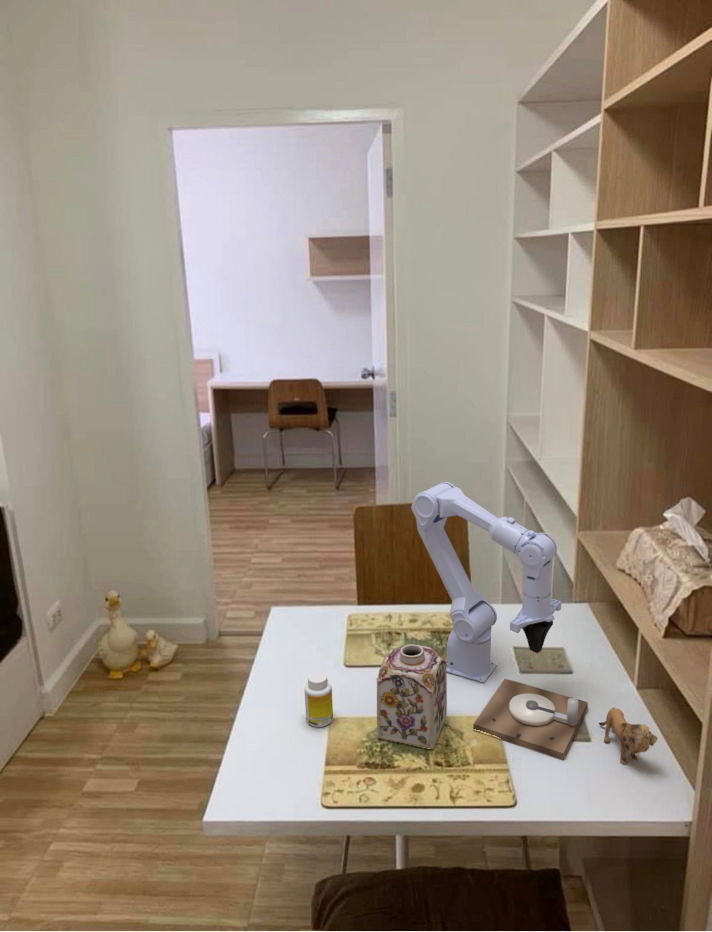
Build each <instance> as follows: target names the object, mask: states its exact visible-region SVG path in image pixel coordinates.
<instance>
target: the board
mask: <svg viewBox="0 0 712 932" xmlns="http://www.w3.org/2000/svg"><path fill="white" fill-rule="evenodd" d="M525 693H531V694H537V695H541V696H543V697H545V698H547V699H549V700H550V701H551V702H552V703H553V705H554V707H555V712H557V713H561V714H564V715H567V706H568V699H569V698H573V697H572V696H568V695H564V694H561V693H558V692H554V691H549V690H547V689H544V688H540V687H537V686H536V687H535V686H533V685H529V684H526V683H522V682H519V681H515V680H511V679H509V678H504V679H503V681H502V682H501V683H500V684H499V685H498V687H497V688H496V690H495V692H494V693H493V695H492V696H491V698H490V699H489V701H488V702H487V704H486V705H485V706H484V708H483V710H482V711H481V712H480V714H479V715H478V717H477V718H476V720H475V721H474V722H473V727H472V729H476V730H480V731H483V732H486V733H489V734H491V735H495V736H497V737H499V738H501V739H502V740H501V739H500V740H501V741H504V742H507V743H510V744H513V745H516V746H520V747H523V748H525V749H529V750H532V751H535V752H537V753H541V754H543V755H547V756H549V757H553V758H555V759H558V760H562V761H564V759H565V757H566V754H567V753H568V750H569V748H570V746H571V744H572V742H573V740H574V738H575V736H574V735H576V734H575V733H577V732H578V729H579V727H580V726H581V723H582V721H583V720H584V716H585V715H586V712H587V710H588V706H589V702H588V701H584V700H582V699H578V698H576V699H577V700H578V716H577V725H575V726H570V725H568V724H567V723H563V722H559V721H556V720H552V721H551V722H549V723H548V724H545V725H540V726H532V725H527V724H523V723H521V722H519V721H517V720H516V719H514V718H513V717H512V716H511V714H510V711H509V703H510V700H511V699H512V698H513V697H515V696H517V695H519V694H525ZM576 731H577V732H576Z"/></svg>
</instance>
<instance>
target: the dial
mask: <svg viewBox="0 0 712 932" xmlns="http://www.w3.org/2000/svg"><path fill="white" fill-rule="evenodd" d="M577 699H578V698H576V697H575V698H574V697H572V698H569V699H568V706H567V715H564V714H561V713H557V712H555V707H554V705H553V703H552V702H551V701H550V700H549V699H547V698H545V697H543V696H541V695H537V694H531V693H525V694H519V695H517V696H515V697H513V698H512V699H511V700H510V703H509V711H510V714H511V716H512V717H513V718H514V719H516V720H517V721H519V722H521V723H523V724H527V725H532V726H540V725H545V724H548V723H549V722H551V721H552V720H556V721H559V722H563V723H567V724H568V725H570V726H575V725H577V716H578V700H577Z"/></svg>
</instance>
